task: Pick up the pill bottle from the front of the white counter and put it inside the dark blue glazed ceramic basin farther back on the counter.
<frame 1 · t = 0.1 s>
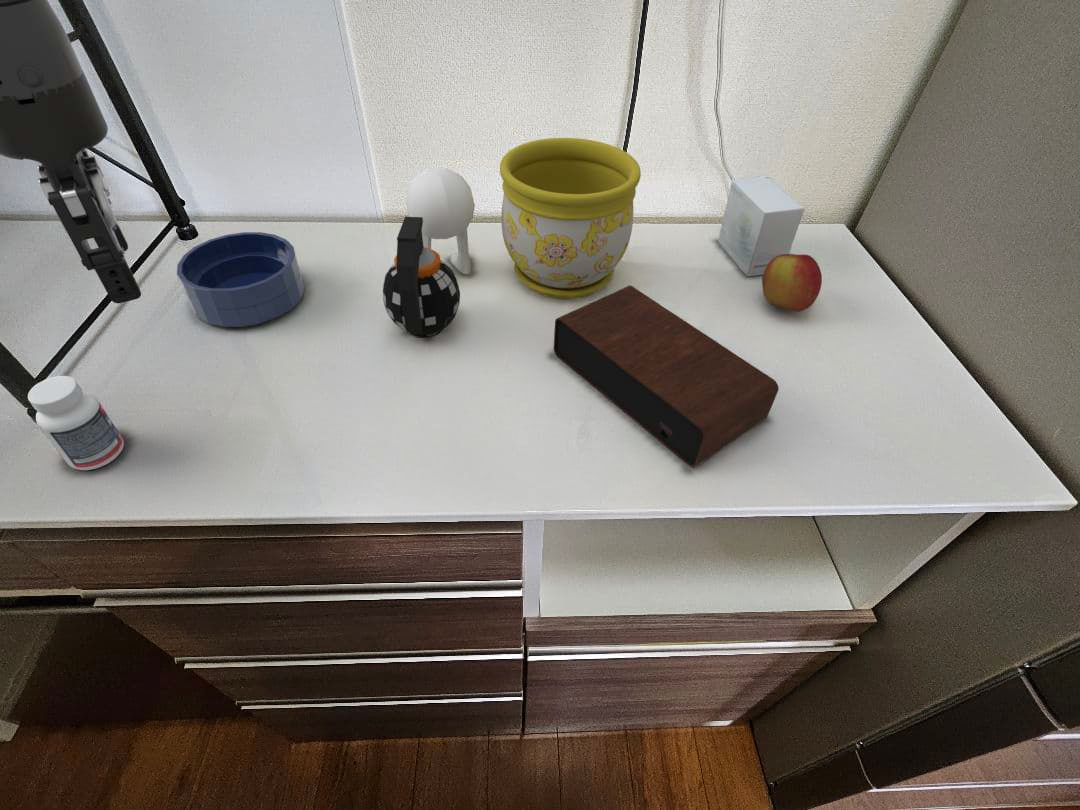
hand: (121, 274, 55), 19 cm above the cabinet, tool pointing down, fingers open, 8 cm apart
apple: (782, 307, 87), on the cabinet
flowerpot: (563, 276, 91), on the cabinet
toy character: (446, 272, 91), on the cabinet
grenade: (424, 332, 81), on the cabinet
alarm clock: (653, 387, 75), on the cabinet
basin: (250, 298, 85), on the cabinet
pill bottle: (97, 453, 65), on the cabinet
cosmetics box: (748, 258, 96), on the cabinet
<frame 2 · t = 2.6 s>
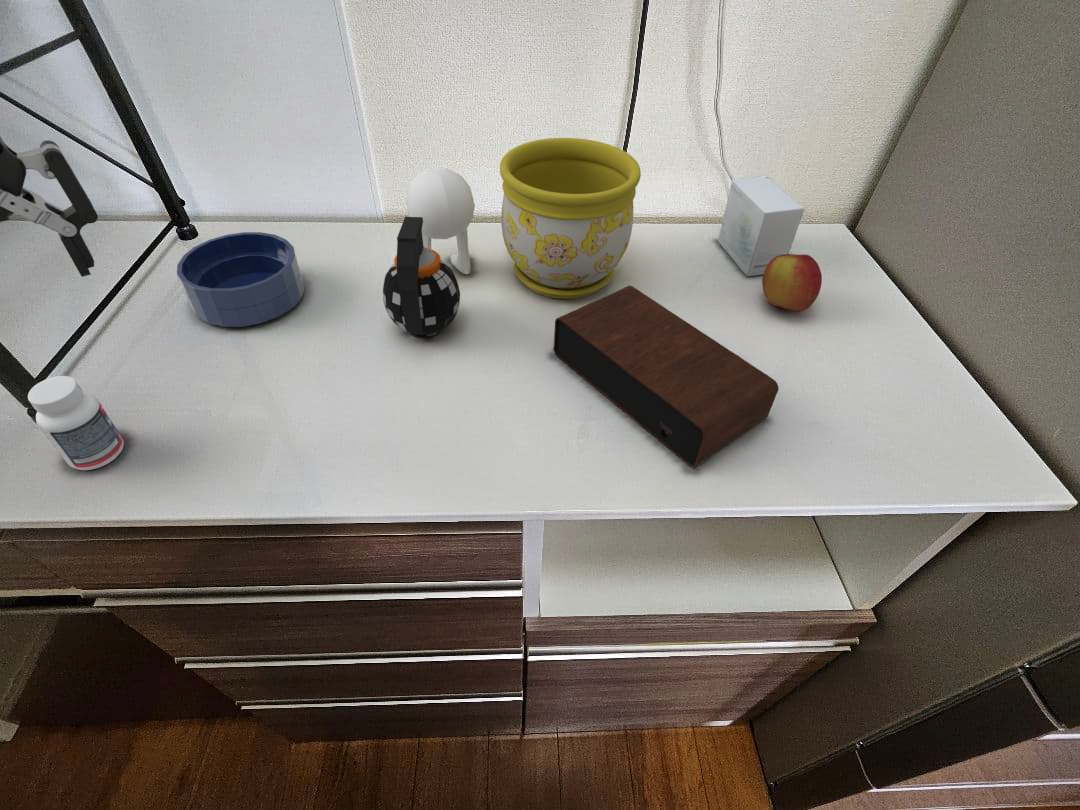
hand: (27, 287, 52), 19 cm above the cabinet, tool pointing down, fingers open, 8 cm apart
nothing on the cabinet moved.
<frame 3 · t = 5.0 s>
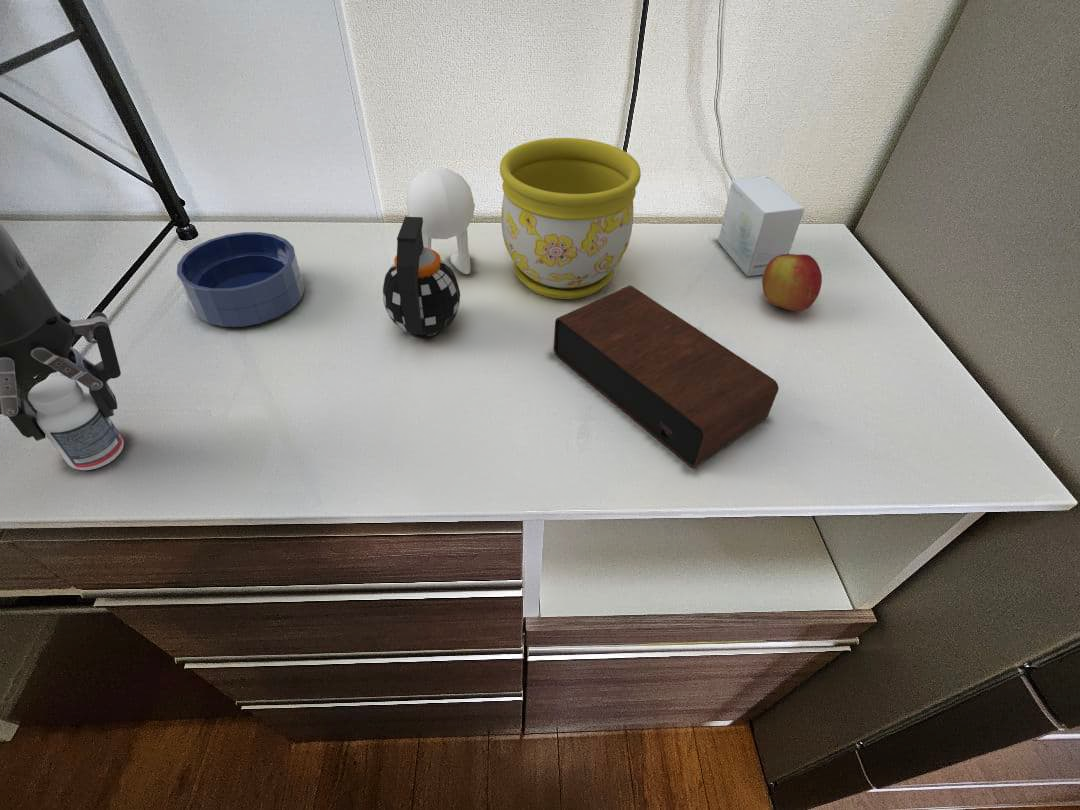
hand: (75, 422, 62), 4 cm above the cabinet, tool pointing down, fingers closed on pill bottle, 5 cm apart
pill bottle: (97, 453, 65), on the cabinet, touching gripper
everything else where it was.
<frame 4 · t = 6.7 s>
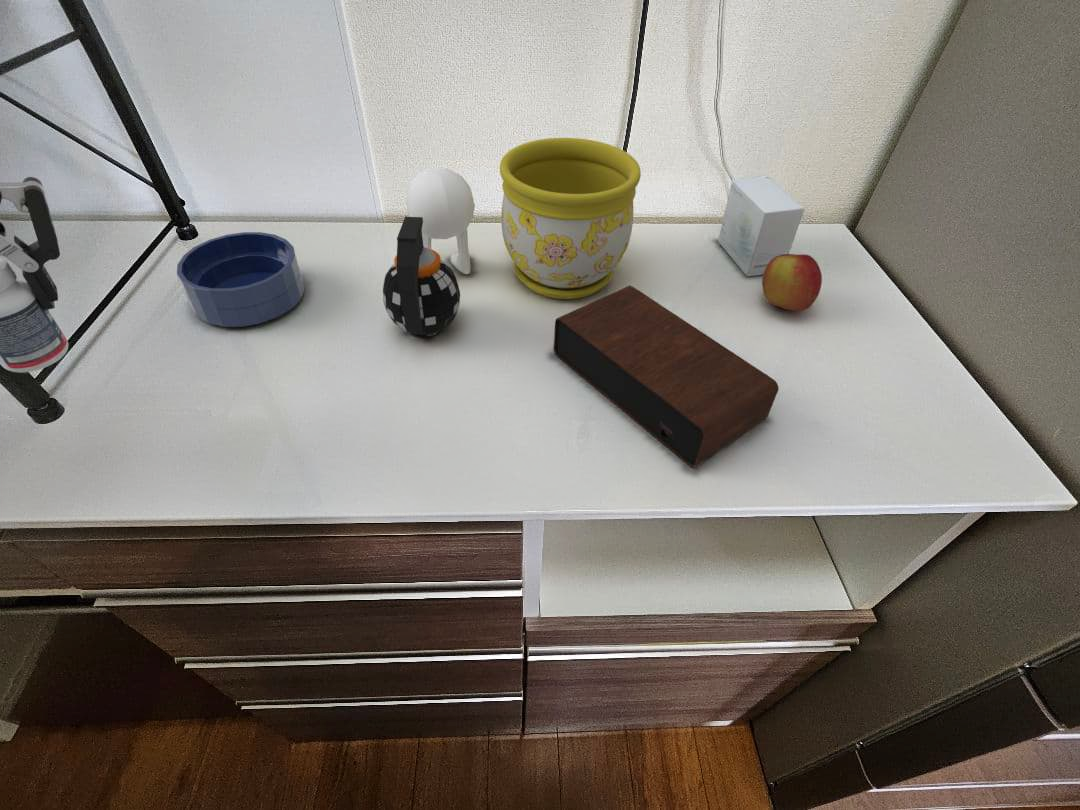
hand: (8, 314, 53), 17 cm above the cabinet, tool pointing down, fingers closed on pill bottle, 5 cm apart
pill bottle: (37, 356, 56), point 12 cm above the cabinet, touching gripper
everything else where it was.
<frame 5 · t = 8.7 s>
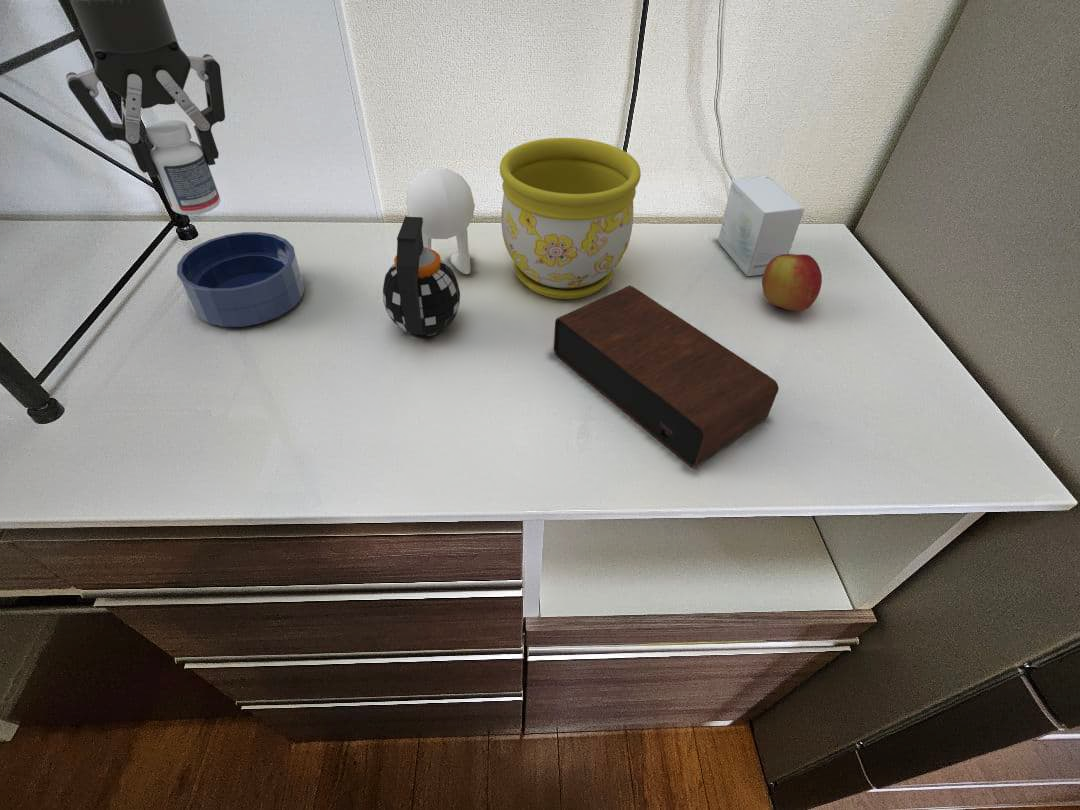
hand: (182, 167, 69), 19 cm above the cabinet, tool pointing down, fingers closed on pill bottle, 5 cm apart
pill bottle: (197, 207, 72), point 15 cm above the cabinet, touching gripper
everything else where it was.
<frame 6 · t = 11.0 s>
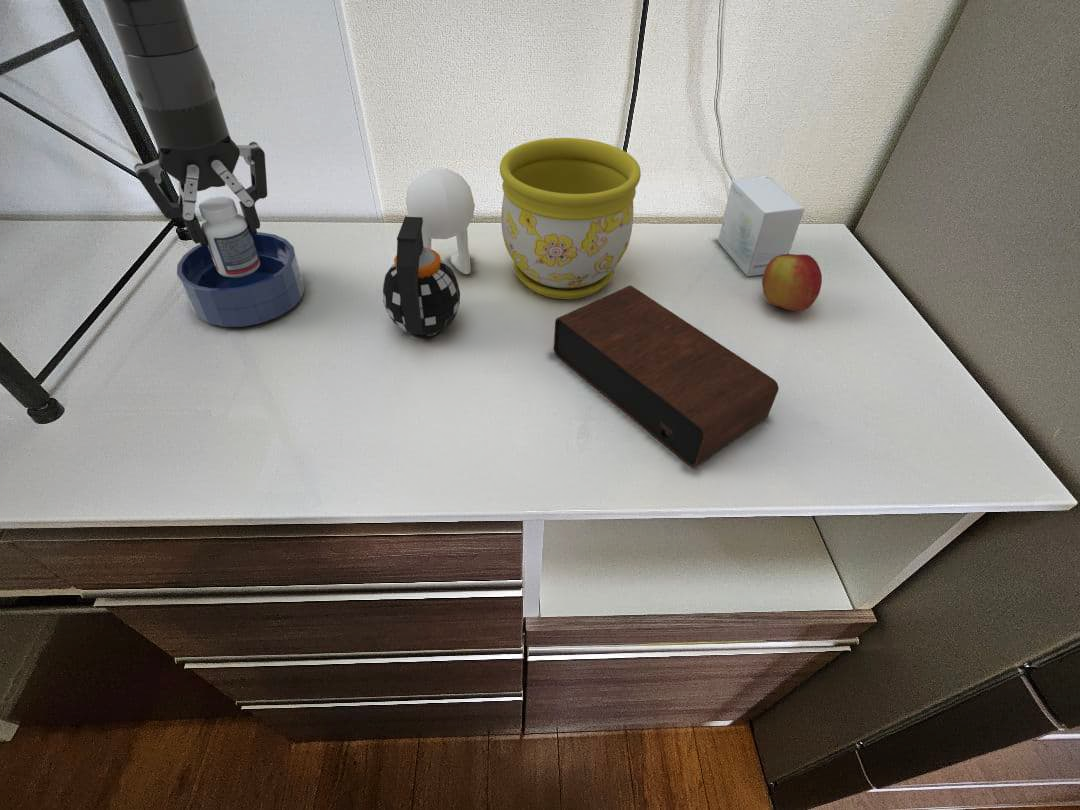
hand: (228, 237, 78), 9 cm above the cabinet, tool pointing down, fingers closed on pill bottle, 5 cm apart
pill bottle: (239, 269, 81), point 5 cm above the cabinet, touching gripper
everything else where it was.
when the fingers open (5 cm above the cabinet, at t = 12.6 s): pill bottle stays where it is, resting on basin.
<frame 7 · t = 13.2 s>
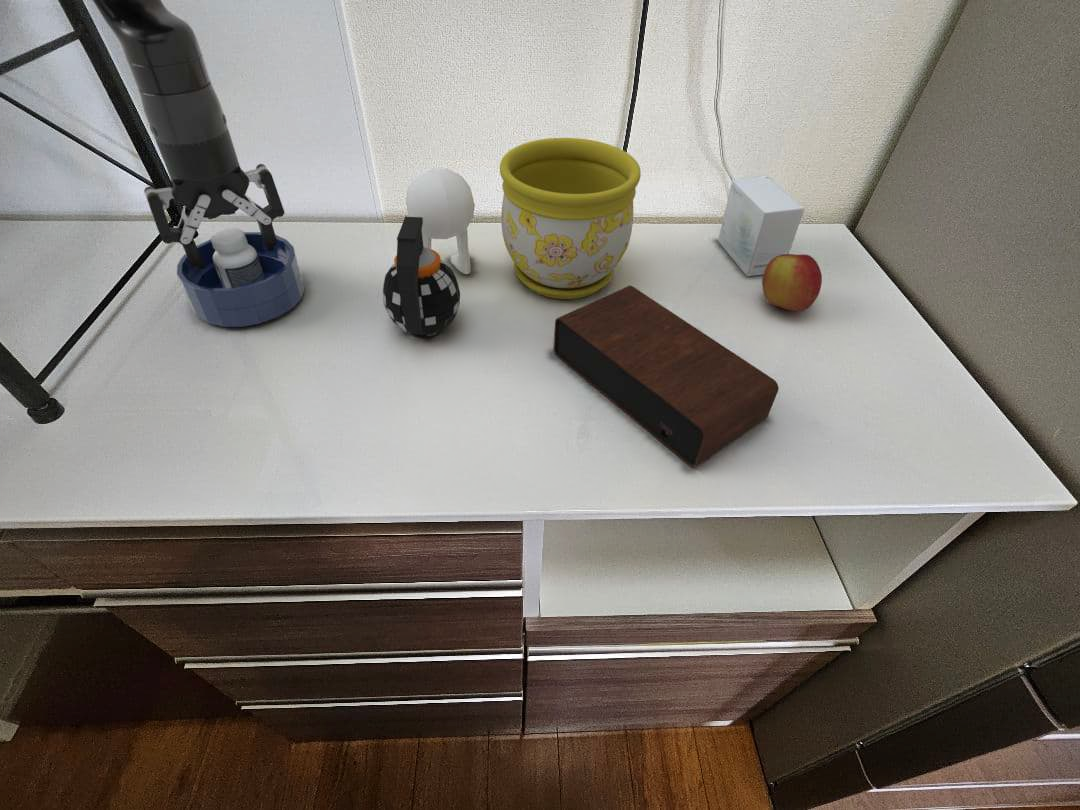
hand: (235, 257, 80), 6 cm above the cabinet, tool pointing down, fingers open, 8 cm apart
pill bottle: (249, 296, 84), resting on basin
everything else where it was.
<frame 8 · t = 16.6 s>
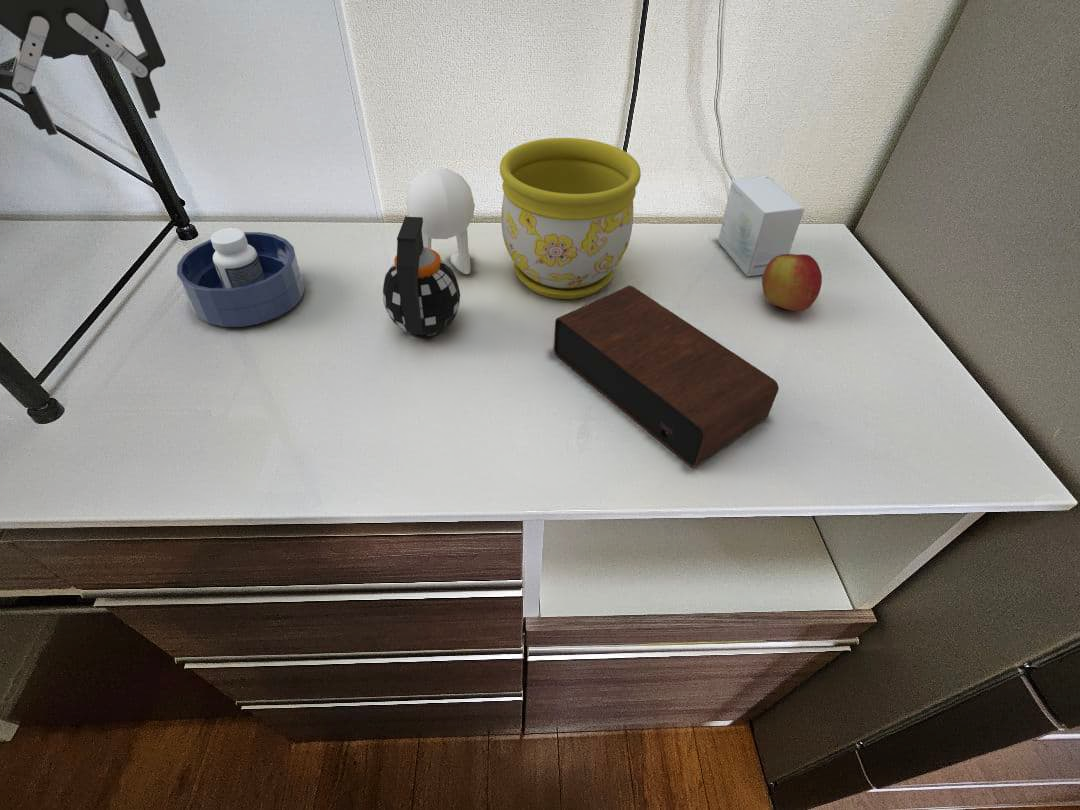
hand: (103, 124, 60), 26 cm above the cabinet, tool pointing down, fingers open, 8 cm apart
nothing on the cabinet moved.
at the end: pill bottle inside the target area in the basin (0.1 cm from its centre), point 0.4 cm above the basin's base; the gripper is holding nothing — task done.
